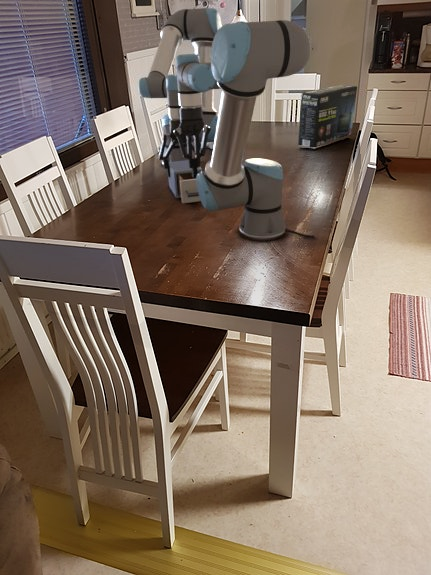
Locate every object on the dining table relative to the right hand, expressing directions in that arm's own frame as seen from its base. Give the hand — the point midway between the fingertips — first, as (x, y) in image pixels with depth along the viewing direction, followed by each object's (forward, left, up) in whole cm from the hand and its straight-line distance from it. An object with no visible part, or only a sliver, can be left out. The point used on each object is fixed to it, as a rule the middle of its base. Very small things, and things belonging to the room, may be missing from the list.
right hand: (195, 176), depth 163 cm
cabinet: (+14, -15, -12) cm, 24 cm away
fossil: (+38, -81, -12) cm, 90 cm away
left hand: (+17, -18, -7) cm, 26 cm away
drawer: (+5, -5, -10) cm, 12 cm away
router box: (-12, -110, -12) cm, 111 cm away
